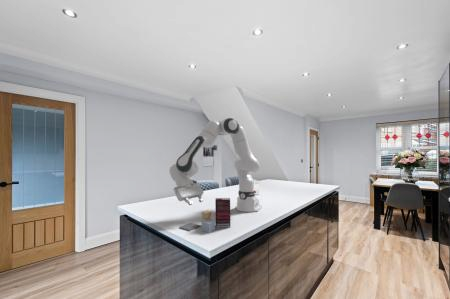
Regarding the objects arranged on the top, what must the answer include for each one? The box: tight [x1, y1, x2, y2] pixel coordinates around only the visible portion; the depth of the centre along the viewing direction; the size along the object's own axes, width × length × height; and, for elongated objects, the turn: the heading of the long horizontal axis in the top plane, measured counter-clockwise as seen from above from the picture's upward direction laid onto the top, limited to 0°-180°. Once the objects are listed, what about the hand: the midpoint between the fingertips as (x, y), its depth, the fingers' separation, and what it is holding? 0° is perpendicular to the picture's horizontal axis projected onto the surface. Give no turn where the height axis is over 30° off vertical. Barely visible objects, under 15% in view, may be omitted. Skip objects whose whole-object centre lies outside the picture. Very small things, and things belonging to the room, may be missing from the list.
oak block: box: [201, 210, 213, 223], centre depth 120 cm, size 4×4×8 cm
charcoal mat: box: [179, 222, 202, 232], centre depth 116 cm, size 9×8×1 cm
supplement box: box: [214, 197, 231, 229], centre depth 118 cm, size 9×5×16 cm, turn 92°
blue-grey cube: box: [201, 220, 216, 234], centre depth 111 cm, size 5×5×5 cm
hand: (196, 203), depth 125 cm, fingers open, 8 cm apart
